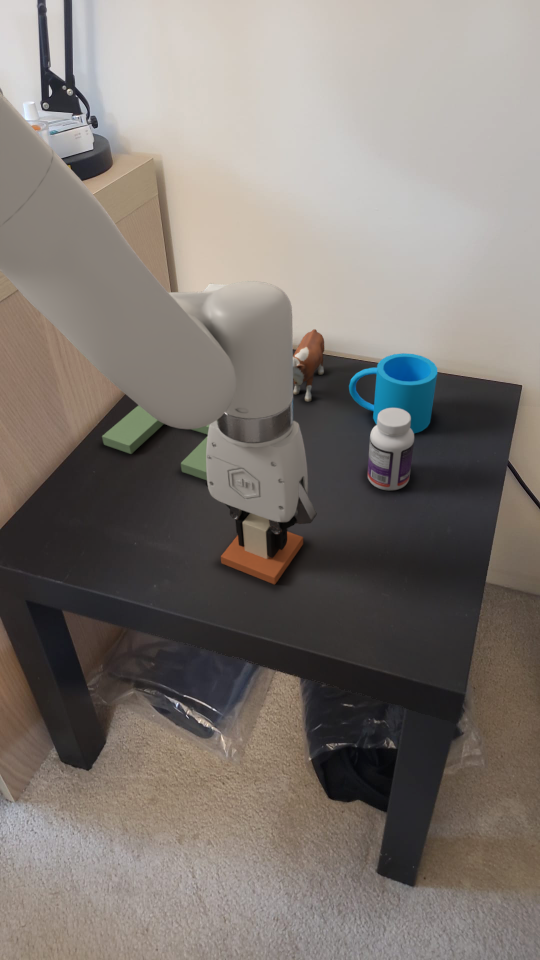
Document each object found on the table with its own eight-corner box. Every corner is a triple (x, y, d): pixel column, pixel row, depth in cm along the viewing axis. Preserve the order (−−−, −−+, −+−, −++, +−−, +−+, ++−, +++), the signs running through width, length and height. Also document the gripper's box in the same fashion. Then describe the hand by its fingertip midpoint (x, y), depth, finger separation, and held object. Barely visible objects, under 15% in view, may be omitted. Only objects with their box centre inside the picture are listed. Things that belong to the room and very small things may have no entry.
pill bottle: (401, 462, 91) (409, 401, 85) (414, 488, 87) (423, 427, 81) (362, 467, 90) (366, 406, 84) (373, 494, 86) (378, 432, 80)
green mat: (103, 444, 96) (101, 436, 95) (176, 381, 108) (175, 373, 107) (212, 482, 89) (211, 473, 88) (277, 410, 101) (277, 402, 100)
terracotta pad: (221, 563, 78) (217, 528, 75) (251, 525, 83) (249, 490, 79) (274, 585, 76) (273, 549, 72) (303, 544, 80) (303, 508, 77)
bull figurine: (275, 409, 101) (273, 361, 96) (306, 364, 110) (306, 318, 105) (303, 415, 100) (303, 367, 94) (332, 369, 109) (333, 322, 104)
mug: (434, 406, 100) (441, 357, 95) (425, 439, 95) (432, 389, 89) (354, 393, 104) (357, 346, 98) (341, 424, 98) (343, 375, 92)
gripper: (163, 410, 67) (184, 541, 79) (313, 457, 61) (312, 592, 73) (204, 373, 72) (218, 502, 84) (348, 413, 66) (341, 546, 78)
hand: (262, 542), depth 78 cm, fingers closed on terracotta pad, 3 cm apart
